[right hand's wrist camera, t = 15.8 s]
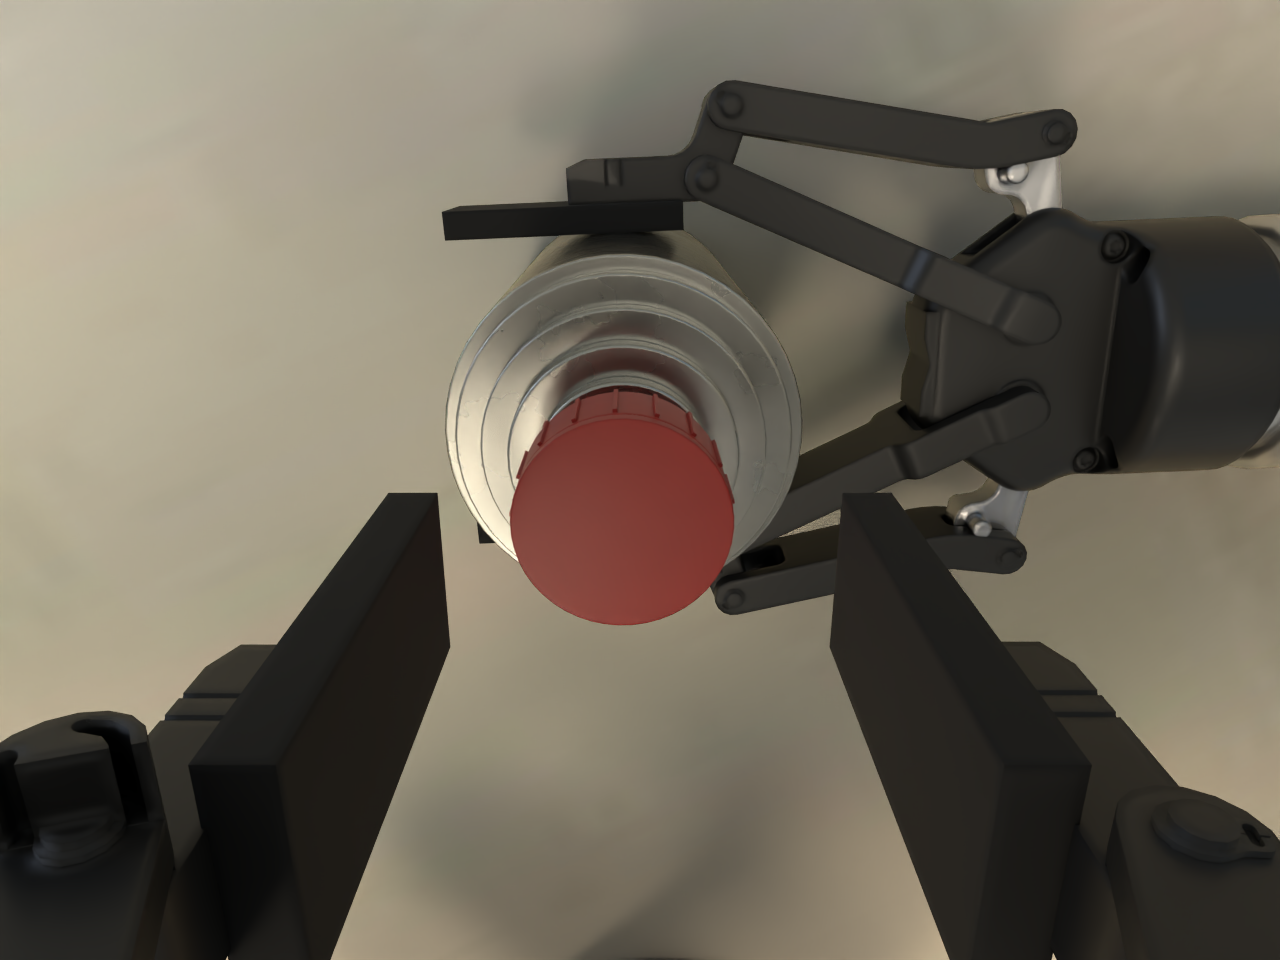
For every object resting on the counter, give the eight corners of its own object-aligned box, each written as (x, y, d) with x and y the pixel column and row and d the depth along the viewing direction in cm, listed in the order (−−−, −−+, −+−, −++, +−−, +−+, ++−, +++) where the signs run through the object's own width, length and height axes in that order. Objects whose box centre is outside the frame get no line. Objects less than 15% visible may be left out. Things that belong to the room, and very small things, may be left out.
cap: (766, 511, 18) (781, 552, 16) (600, 617, 19) (596, 666, 17) (649, 346, 17) (652, 369, 15) (477, 466, 17) (459, 502, 16)
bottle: (782, 359, 33) (934, 567, 17) (600, 480, 35) (574, 781, 18) (654, 164, 31) (683, 181, 14) (466, 304, 32) (294, 466, 16)
